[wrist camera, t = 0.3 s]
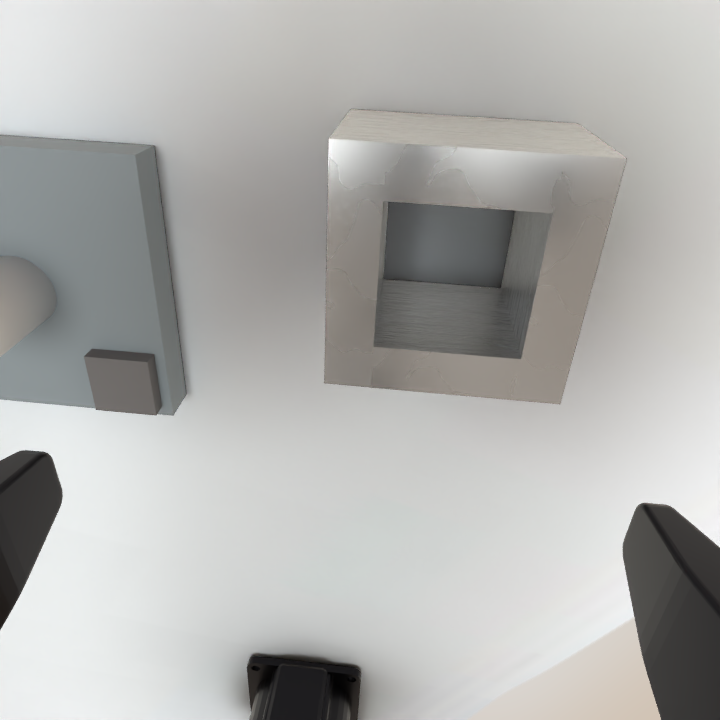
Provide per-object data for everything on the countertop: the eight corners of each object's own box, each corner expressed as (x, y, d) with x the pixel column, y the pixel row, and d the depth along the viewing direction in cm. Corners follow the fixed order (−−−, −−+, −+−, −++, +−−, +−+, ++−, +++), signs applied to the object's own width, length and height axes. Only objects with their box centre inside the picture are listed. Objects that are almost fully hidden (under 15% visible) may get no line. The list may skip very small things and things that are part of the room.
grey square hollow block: (532, 325, 21) (560, 404, 17) (343, 310, 22) (324, 383, 18) (577, 123, 18) (626, 158, 14) (350, 109, 18) (328, 138, 14)
